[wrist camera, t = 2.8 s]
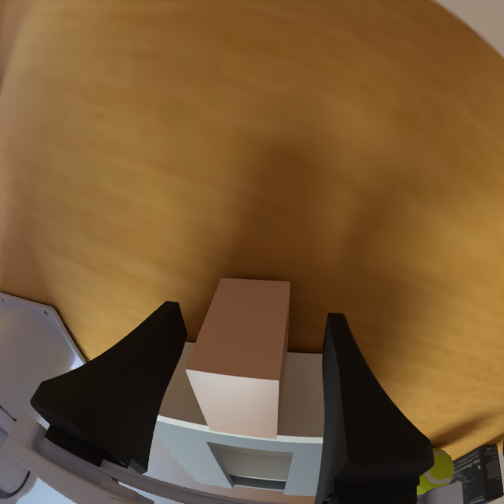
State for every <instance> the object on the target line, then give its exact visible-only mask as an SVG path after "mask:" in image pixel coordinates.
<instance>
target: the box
mask: <svg viewBox="0 0 504 504" xmlns="http://www.w3.org/2000/svg"><path fill="white" fill-rule="evenodd" d="M453 464H454V473H453V477H452V479H451V481H450V483H449V484H452V483H455V482H459V481H460V482H462V492H463V504H487V503H489V502H491V501H494V500H496V499H498V498H500V497H502V496H503V495H504V493H503V485H502V476H501V469H500V462H499V455H498V449H497V445H491V446H480V447H479V448H477V449H475V450H474V451H472V452H470V453H468V454H467V455H465V456H463V457H461V458H459V459H457V460H455V461H454V462H453Z"/></svg>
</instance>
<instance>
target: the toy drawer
mask: <svg viewBox="0 0 504 504" xmlns="http://www.w3.org/2000/svg"><path fill="white" fill-rule="evenodd" d="M289 306H290V282H287V281H268V280H250V279H233V278H221V280H220V283H219V285H218V288H217V290H216V293H215V295H214V298H213V300H212V303H211V305H210V308H209V310H208V313H207V315H206V318H205V320H204V323H203V325H202V328H201V330H200V333H199V335H198V338H197V340H196V343H190V342H185V345H184V349H183V352H182V355H181V357H180V360H179V362H178V364H177V367H176V369H175V371H174V374H173V376H172V378H171V380H170V383H169V385H168V387H167V390H166V392H165V395H164V397H163V400H162V403H161V407H160V410H159V414H158V417H157V421H161V422H165V423H169V424H173V425H177V426H181V427H186V428H190V429H195V430H200V431H205V432H211V433H216V434H222V435H228V436H235V437H242V438H250V439H259V440H268V441H280V442H295V443H323V433H324V394H323V377H322V354H308V353H289V352H287V349H288V329H289ZM214 445H215V447H216V449H217V452H218V454H219V456H220V458H221V460H222V462H223V464H224V466H225V468H226V469H227V471H228V473H229V475H234V476H240V477H247V478H255V479H264V480H275V481H286V480H287V475H288V471H289V467H290V462H291V458H292V453H293V452H279V451H268V450H258V449H250V448H242V447H235V446H229V445H223V444H217V443H214Z"/></svg>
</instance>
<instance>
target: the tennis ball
mask: <svg viewBox="0 0 504 504" xmlns="http://www.w3.org/2000/svg"><path fill="white" fill-rule="evenodd" d="M432 449H433V453H434V460H435V464H434V466H433V467H432V468H431V469H430V470H428V471H427V472H425V473H424V474H422V475H421V476H419V478H420V484H419V486H417V495H420V494H424V493H425V492H426V491H428V490H430V489H433V488H436V487H440V486H444V485H448V484H449V483H450V481H451V479H452V477H453V473H454V464H453V460H452V458H451V457H450V455H448V454H447V453H446V452H445V451H443V450H441V449H438V448H432Z"/></svg>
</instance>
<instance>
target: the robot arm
mask: <svg viewBox="0 0 504 504" xmlns="http://www.w3.org/2000/svg"><path fill="white" fill-rule="evenodd" d="M186 338H187V331H186V327H185V324H184V320H183V317H182V313H181V309H180V306H179V302H170V301H166V302H165V303H163V304H162V305H161V306H160V307H159V308H158V309H157V310H156V311H154V312H153V313H152V314H151V315H150V316H149V317H148V318H147V319H146V320H144V321H143V322H142V323H141V324H140V325H139V326H138V327H136V328H135V329H134V330H133V331H132V332H131V333H129V334H128V335H127V336H126V337H124V338H123V339H122V340H121V341H119V342H118V343H117V344H115V345H114V346H113V347H111V348H110V349H108V350H107V351H105V352H104V353H102V354H101V355H99V356H98V357H96V358H94V359H92V360H91V361H89V362H86V361H85V359H84V358H83V356H82V355H81V353H80V351H79V350H78V348H77V347H76V345H75V343H74V342H73V340H72V338H71V337H70V335H69V333H68V332H67V330H66V328H65V326H64V324H63V323H62V321H61V319H60V317H59V315H58V314H57V312H56V310H55V309H54V308H53V307H51V306H47V305H44V304H40V303H36V302H32V301H29V300H25V299H21V298H18V297H14V296H11V295H8V294H4V293H1V292H0V504H16V503H17V502H18V501H19V500H20V498H22V497H23V496H25V495H26V494H28V493H29V492H30V491H31V490H32V488H33V487H34V485H35V483H36V481H37V478H40V479H41V480H42V481H44V482H45V483H46V484H48V485H49V486H51V487H52V488H53V489H55V490H56V491H58V492H59V493H61V494H62V495H64V496H65V497H67V498H68V499H70V500H72V501H73V502H75V503H76V504H154V501H153V500H151V499H148V498H146V497H144V496H142V495H140V494H138V493H137V492H136V491H134V490H131V489H129V488H127V487H125V486H122V485H120V484H119V483H118V481H119V482H122V483H124V484H126V485H129V486H132V487H134V488H137V489H140V490H143V491H145V492H148V493H151V494H154V495H157V496H160V497H163V498H167V499H170V500H174V501H177V502H181V503H184V504H288V503H274V502H264V501H254V500H247V499H240V498H234V497H227V496H222V495H217V494H212V493H207V492H202V491H198V490H194V489H189V488H186V487H181V486H178V485H174V484H171V483H167V482H164V481H160V480H158V479H154V478H151V477H148V476H145V475H142V474H143V473H145V472H147V469H148V461H149V454H150V448H151V443H152V439H153V434H154V430H155V425H156V421H157V417H158V414H159V410H160V407H161V403H162V400H163V397H164V395H165V392H166V390H167V387H168V385H169V383H170V380H171V378H172V376H173V374H174V371H175V369H176V367H177V364H178V362H179V360H180V357H181V355H182V352H183V349H184V345H185V342H186ZM70 369H72V370H71V371H69V370H70ZM322 377H323V394H324V433H323V445H322V455H321V464H320V472H319V479H318V486H317V492H316V499H315V504H463V492H462V482H460V481H459V482H455V483H452V484H448V485H444V486H440V487H436V488H433V489H430V490H428V491H426V492H425V493H424V494H420V495H417V486H419V484H420V478H419V476H421V475H422V474H424V473H425V472H427V471H428V470H430V469H431V468H432V467H433V466H434V464H435V460H434V453H433V449H432V445H431V442H430V440H429V439H428V438H427V437H426V436H425V435H424V434H422V433H421V432H420V431H419V430H418V429H417V428H416V427H415V426H414V425H413V424H412V423H411V422H410V421H409V420H408V419H407V418H406V417H405V416H404V414H403V413H402V412H401V411H400V410H399V409H398V407H397V406H396V405H395V404H394V403H393V402H392V400H391V399H390V398H389V396H388V395H387V394H386V392H385V391H384V390H383V388H382V387H381V385H380V384H379V382H378V381H377V379H376V378H375V376H374V375H373V373H372V372H371V370H370V368H369V366H368V365H367V363H366V361H365V359H364V358H363V356H362V354H361V352H360V350H359V348H358V346H357V344H356V342H355V340H354V337H353V335H352V333H351V331H350V328H349V326H348V323H347V320H346V318H345V315H344V314H338V313H328V317H327V324H326V330H325V335H324V341H323V351H322ZM41 417H43V418H44V419H45V420H46V421H47V422H48V423H49V424H50V426H49V428H48V430H46V429H45V428H44V427H43V426H42V425H41V424H39V421H40V419H41Z"/></svg>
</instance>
